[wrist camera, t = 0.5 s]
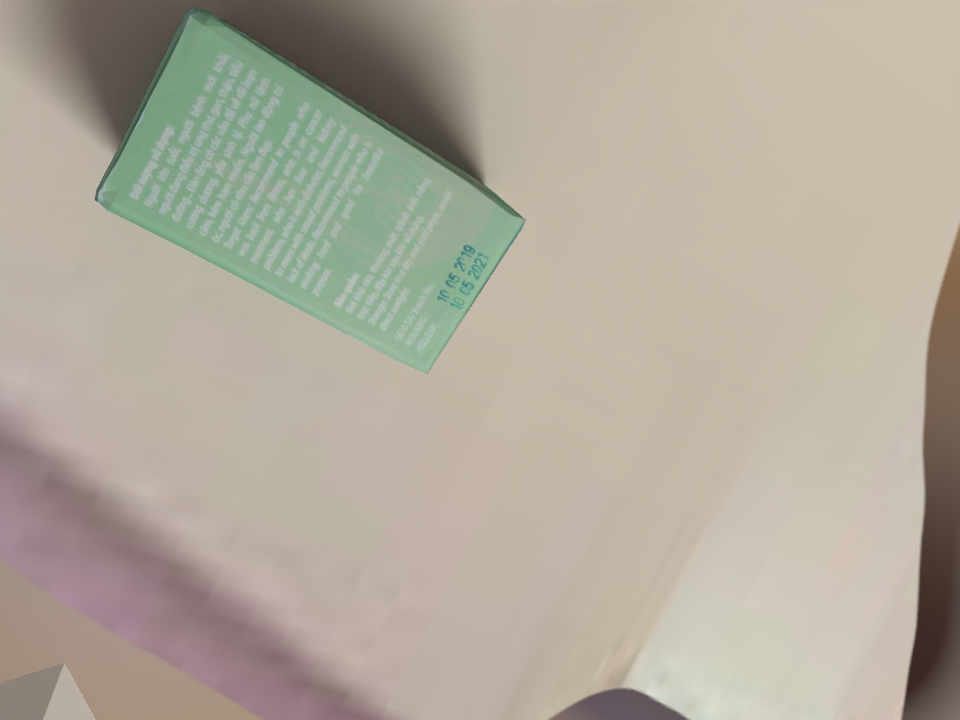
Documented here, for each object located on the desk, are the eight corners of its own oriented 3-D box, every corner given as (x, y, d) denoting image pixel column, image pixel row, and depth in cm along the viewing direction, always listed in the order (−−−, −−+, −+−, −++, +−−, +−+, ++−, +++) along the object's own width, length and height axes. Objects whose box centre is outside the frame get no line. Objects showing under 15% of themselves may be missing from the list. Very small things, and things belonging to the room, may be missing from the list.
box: (206, 7, 31) (181, -5, 24) (489, 186, 36) (535, 218, 29) (124, 172, 32) (79, 204, 26) (407, 321, 37) (432, 382, 31)
